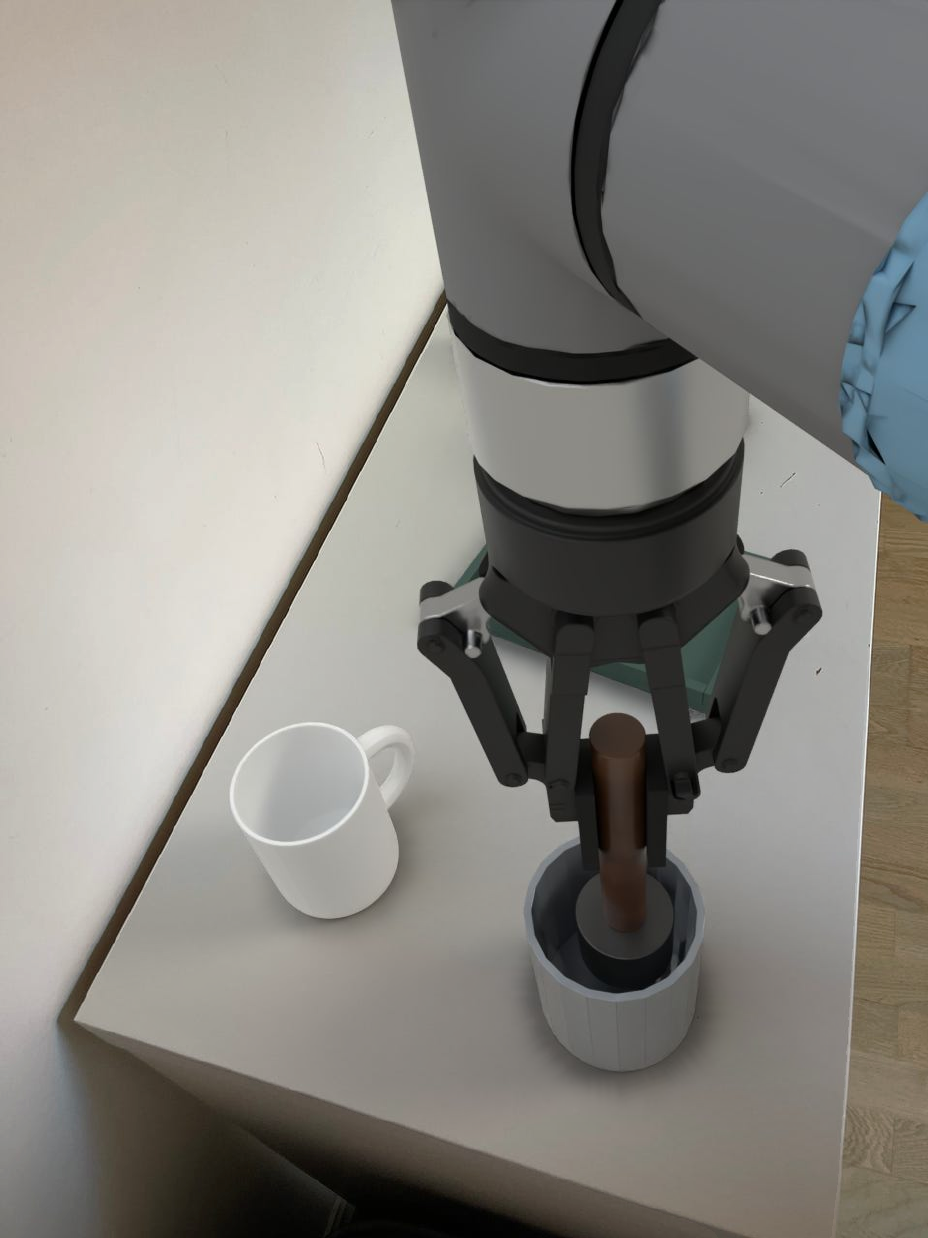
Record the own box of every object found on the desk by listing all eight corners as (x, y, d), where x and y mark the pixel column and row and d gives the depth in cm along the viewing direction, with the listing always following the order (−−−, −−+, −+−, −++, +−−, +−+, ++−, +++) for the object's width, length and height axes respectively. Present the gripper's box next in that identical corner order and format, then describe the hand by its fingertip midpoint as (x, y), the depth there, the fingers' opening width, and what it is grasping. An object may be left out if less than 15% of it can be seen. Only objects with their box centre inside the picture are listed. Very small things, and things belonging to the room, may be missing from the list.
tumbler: (718, 960, 58) (731, 874, 49) (657, 1103, 53) (660, 1035, 45) (582, 895, 61) (573, 805, 53) (514, 1023, 57) (492, 948, 49)
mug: (385, 750, 70) (354, 661, 63) (467, 818, 66) (444, 731, 58) (253, 868, 66) (201, 787, 58) (331, 950, 61) (287, 874, 54)
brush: (687, 924, 54) (703, 709, 39) (649, 1007, 51) (650, 811, 36) (603, 885, 56) (587, 667, 41) (563, 962, 53) (530, 760, 38)
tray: (780, 582, 75) (783, 561, 74) (712, 716, 69) (714, 696, 67) (530, 507, 84) (527, 486, 83) (448, 618, 78) (443, 599, 76)
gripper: (858, 322, 29) (778, 760, 47) (346, 378, 31) (456, 780, 48) (934, 496, 24) (813, 912, 42) (320, 552, 26) (453, 929, 43)
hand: (621, 841), depth 45 cm, fingers closed on brush, 2 cm apart
